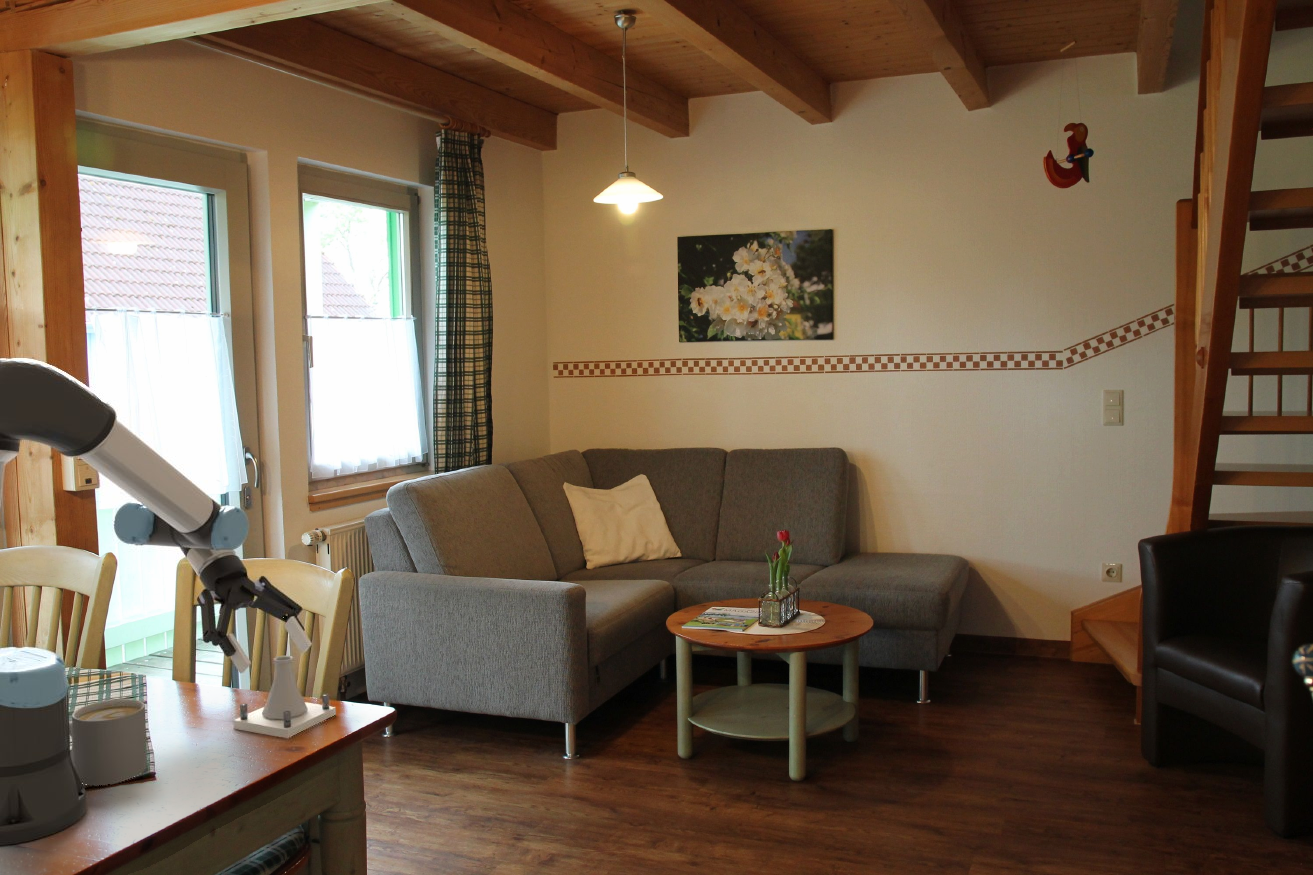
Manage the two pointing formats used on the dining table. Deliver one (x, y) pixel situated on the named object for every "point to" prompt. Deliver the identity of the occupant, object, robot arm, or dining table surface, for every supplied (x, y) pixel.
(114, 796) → the dining table surface
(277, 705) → the flask
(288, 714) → the pegs
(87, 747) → the coffee mug
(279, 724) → the plate
